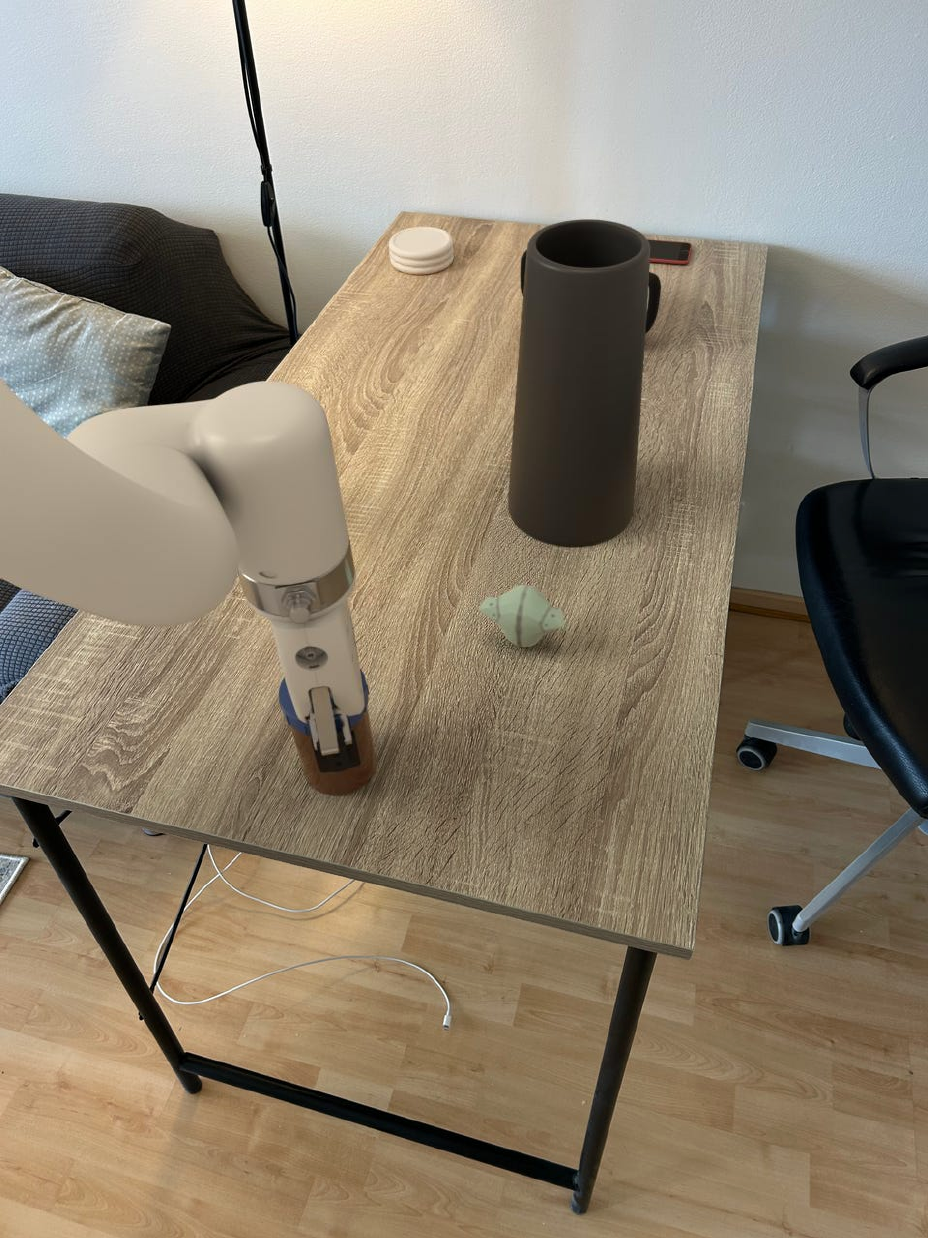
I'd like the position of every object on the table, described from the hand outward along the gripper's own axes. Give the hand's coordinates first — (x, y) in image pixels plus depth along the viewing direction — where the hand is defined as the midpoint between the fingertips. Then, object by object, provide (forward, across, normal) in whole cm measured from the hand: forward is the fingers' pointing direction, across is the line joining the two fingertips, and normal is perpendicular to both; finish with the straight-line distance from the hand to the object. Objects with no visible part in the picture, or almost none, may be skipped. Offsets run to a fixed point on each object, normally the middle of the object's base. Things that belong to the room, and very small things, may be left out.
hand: (335, 725), depth 72 cm
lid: (-5, 0, 0) cm, 5 cm away
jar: (+5, 0, 0) cm, 5 cm away
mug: (+6, +63, -40) cm, 75 cm away
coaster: (+6, +91, -22) cm, 94 cm away
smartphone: (+6, +85, -56) cm, 102 cm away
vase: (+6, +28, -28) cm, 40 cm away
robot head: (+6, +10, -18) cm, 21 cm away
